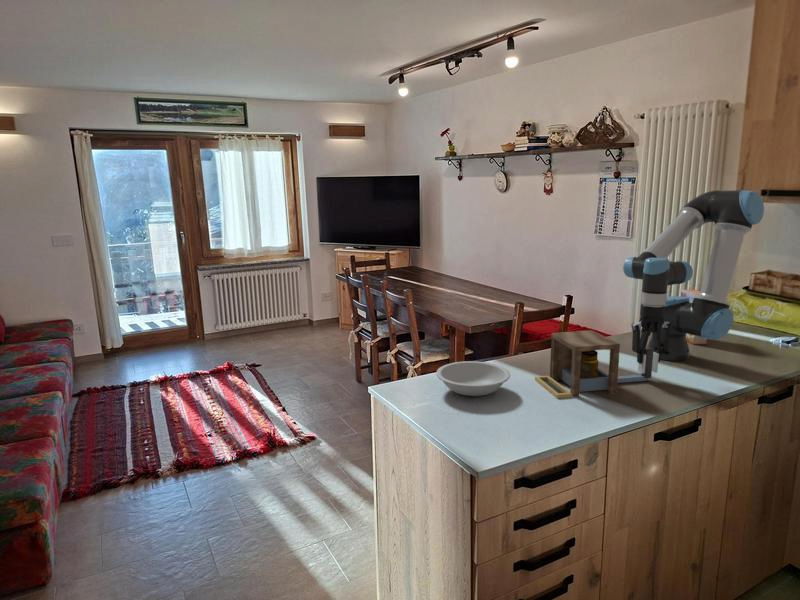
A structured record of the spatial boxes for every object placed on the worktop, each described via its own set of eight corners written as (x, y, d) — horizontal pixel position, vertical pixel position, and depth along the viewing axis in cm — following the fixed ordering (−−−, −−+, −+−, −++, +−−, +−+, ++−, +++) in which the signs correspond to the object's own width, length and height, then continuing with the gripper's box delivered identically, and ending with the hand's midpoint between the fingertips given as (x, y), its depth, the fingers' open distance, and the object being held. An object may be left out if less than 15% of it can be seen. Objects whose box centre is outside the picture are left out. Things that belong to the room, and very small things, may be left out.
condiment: (602, 386, 180) (604, 351, 177) (586, 391, 175) (587, 356, 173) (584, 380, 186) (586, 346, 183) (568, 385, 181) (569, 351, 179)
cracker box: (708, 344, 222) (713, 295, 218) (693, 345, 222) (698, 295, 218) (690, 335, 236) (694, 288, 232) (676, 335, 236) (680, 289, 232)
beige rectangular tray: (548, 378, 187) (548, 375, 187) (571, 397, 171) (571, 393, 171) (534, 380, 186) (534, 376, 186) (556, 398, 170) (557, 394, 170)
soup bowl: (455, 374, 193) (455, 357, 192) (520, 386, 181) (520, 367, 180) (423, 397, 173) (423, 378, 172) (494, 411, 161) (494, 391, 160)
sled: (640, 373, 190) (642, 343, 187) (660, 384, 179) (663, 353, 177) (561, 380, 185) (563, 349, 183) (577, 391, 174) (579, 359, 172)
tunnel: (589, 375, 190) (592, 330, 186) (616, 393, 173) (619, 343, 170) (549, 378, 187) (551, 333, 184) (573, 397, 171) (575, 347, 168)
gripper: (669, 301, 184) (663, 366, 188) (623, 303, 181) (618, 369, 186) (683, 305, 176) (677, 373, 181) (636, 308, 174) (631, 377, 179)
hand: (647, 371), depth 183 cm, fingers open, 4 cm apart
